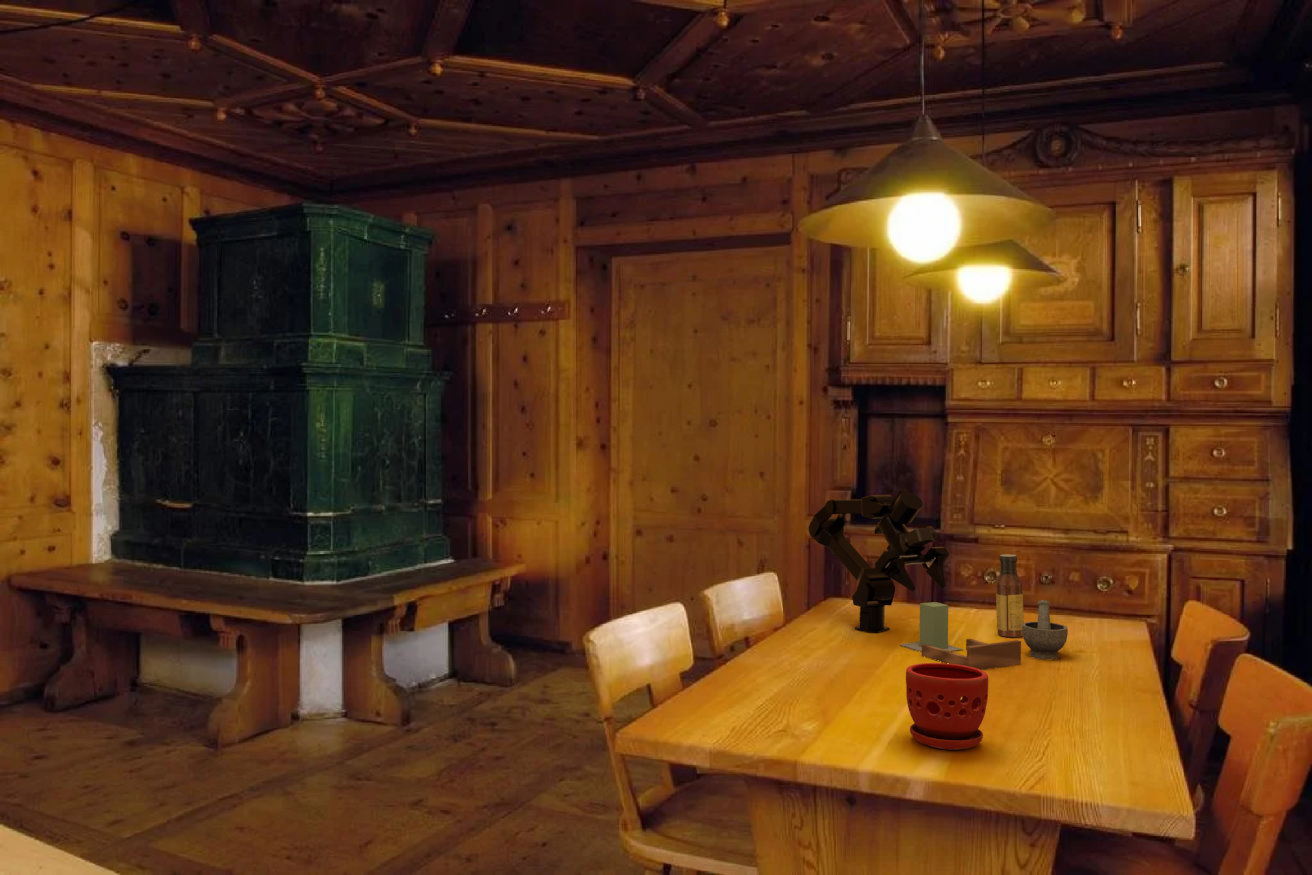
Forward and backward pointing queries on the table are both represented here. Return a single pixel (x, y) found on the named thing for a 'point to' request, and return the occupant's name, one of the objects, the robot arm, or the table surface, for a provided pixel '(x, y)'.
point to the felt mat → (916, 647)
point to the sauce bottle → (1009, 598)
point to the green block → (934, 625)
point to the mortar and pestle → (1044, 634)
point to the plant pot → (946, 704)
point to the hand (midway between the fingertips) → (929, 588)
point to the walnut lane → (979, 654)
